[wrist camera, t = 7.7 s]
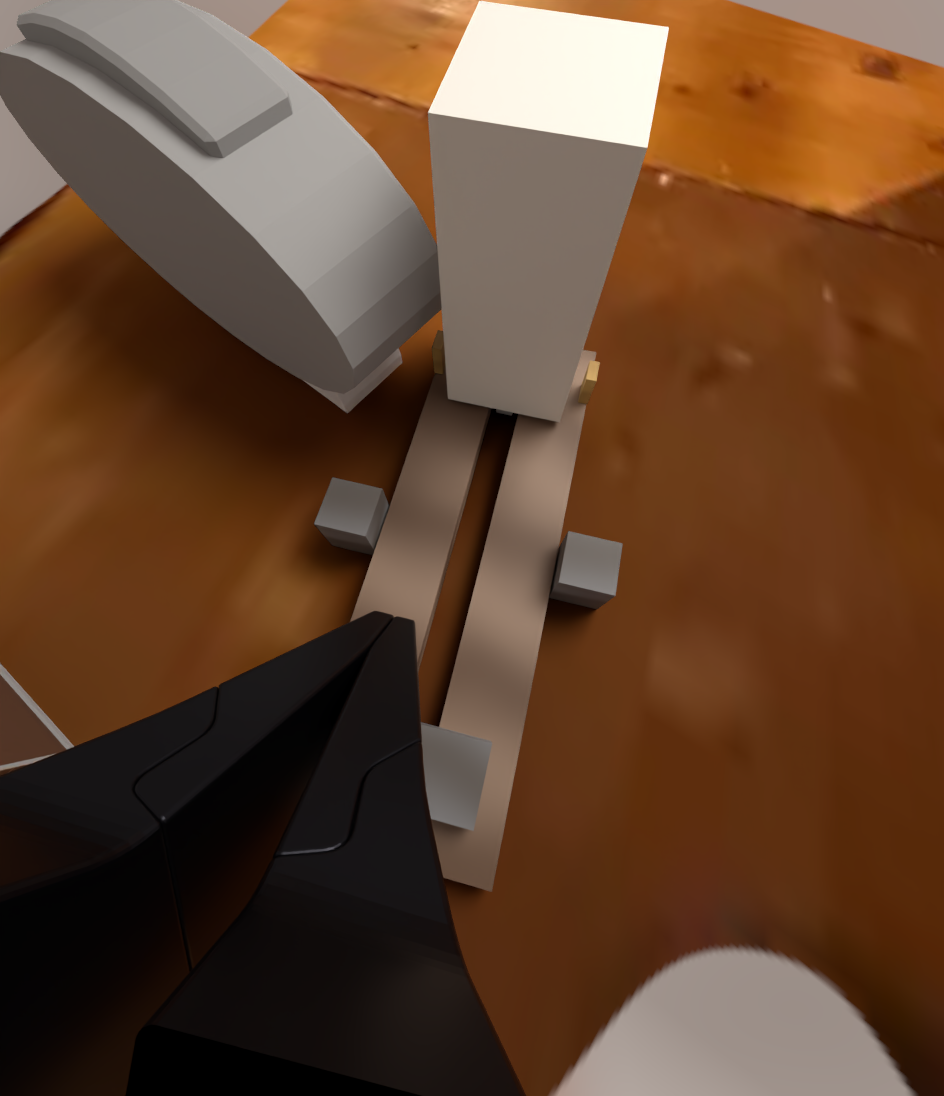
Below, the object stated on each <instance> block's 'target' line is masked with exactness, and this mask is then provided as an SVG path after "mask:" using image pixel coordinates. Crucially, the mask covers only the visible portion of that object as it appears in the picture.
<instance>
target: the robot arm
mask: <svg viewBox="0 0 944 1096" xmlns="http://www.w3.org/2000/svg"><path fill="white" fill-rule="evenodd" d="M0 1096H526V1094H525V1092H524V1090H523V1088H522V1086H521V1084H520V1082H519V1079H518V1077H517V1075H516V1073H515V1071H514V1069H513V1067H512V1065H511V1062H510V1060H509V1058H508V1056H507V1054H506V1052H505V1050H504V1048H503V1045H502V1043H501V1041H500V1039H499V1037H498V1035H497V1033H496V1031H495V1028H494V1026H493V1024H492V1022H491V1020H490V1018H489V1016H488V1014H487V1011H486V1009H485V1007H484V1005H483V1003H482V1001H481V999H480V997H479V994H478V992H477V990H476V988H475V986H474V984H473V982H472V979H471V977H470V975H469V973H468V970H467V967H466V964H465V961H464V958H463V955H462V952H461V949H460V945H459V942H458V938H457V934H456V931H455V927H454V923H453V919H452V914H451V910H450V906H449V901H448V896H447V892H446V887H445V882H444V878H443V873H442V868H441V864H440V859H439V854H438V850H437V845H436V841H435V836H434V831H433V827H432V822H431V816H430V810H429V804H428V798H427V793H426V784H425V774H424V764H423V746H422V733H421V715H420V698H419V680H418V663H417V645H416V628H415V621H414V620H411V619H407V618H403V617H399V616H396V617H394V616H393V615H391V614H388V613H384V612H380V611H372V612H370V613H368V614H366V615H364V616H362V617H360V618H358V619H355V620H353V621H351V622H349V623H347V624H345V625H343V626H341V627H339V628H337V629H335V630H332V631H330V632H328V633H326V634H324V635H322V636H320V637H318V638H316V639H314V640H312V641H309V642H307V643H305V644H303V645H301V646H299V647H297V648H295V649H293V650H291V651H288V652H286V653H284V654H282V655H280V656H278V657H276V658H274V659H272V660H270V661H268V662H265V663H263V664H261V665H259V666H257V667H255V668H253V669H251V670H249V671H247V672H244V673H242V674H240V675H238V676H236V677H234V678H232V679H230V680H228V681H226V682H224V683H221V684H220V685H219V688H218V687H213V688H211V689H209V690H206V691H204V692H202V693H200V694H198V695H196V696H194V697H192V698H189V699H187V700H185V701H183V702H181V703H178V704H176V705H174V706H172V707H170V708H167V709H165V710H163V711H161V712H159V713H156V714H154V715H151V716H149V717H147V718H144V719H142V720H139V721H137V722H134V723H132V724H130V725H127V726H125V727H122V728H120V729H117V730H115V731H113V732H110V733H107V734H105V735H102V736H100V737H97V738H95V739H92V740H90V741H87V742H85V743H82V744H79V745H77V746H74V747H72V748H69V749H67V750H64V751H62V752H59V753H57V754H54V755H52V756H49V757H46V758H44V759H41V760H39V761H36V762H34V763H31V764H29V765H26V766H24V767H21V768H18V769H16V770H13V771H11V772H8V773H6V774H3V775H0Z"/></svg>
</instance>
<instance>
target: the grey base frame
mask: <svg viewBox="0 0 944 1096" xmlns="http://www.w3.org/2000/svg"><path fill="white" fill-rule="evenodd" d="M432 355H433V365H434V373H435V375H434V378H433V381H432V384H431V387H430V390H429V393H428V395H427V398H426V401H425V404H424V407H423V410H422V413H421V416H420V419H419V422H418V425H417V428H416V431H415V433H414V436H413V439H412V442H411V445H410V448H409V451H408V454H407V457H406V460H405V463H404V466H403V469H402V472H401V474H400V477H399V480H398V483H397V486H396V489H395V492H394V495H393V498H392V501H391V504H390V506H389V504H388V501H387V499H386V496H385V494H384V492H383V489H382V488H377V487H373V486H369V485H364V484H360V483H355V482H351V481H347V480H342V479H338V478H334V477H332V480H331V482H330V485H329V487H328V490H327V492H326V495H325V497H324V500H323V502H322V505H321V507H320V510H319V512H318V515H317V517H316V520H315V523H314V525H315V526H316V527H317V528H318V529H319V531H320V532H321V533H322V534H323V535H324V536H325V538H326V539H327V540H328V541H329V542H330V543H331V545H332V546H336V547H341V548H345V549H349V550H353V551H357V552H361V553H365V554H370V555H373V556H372V559H371V562H370V565H369V568H368V571H367V574H366V577H365V580H364V583H363V586H362V589H361V592H360V595H359V597H358V600H357V603H356V606H355V609H354V612H353V615H352V618H351V621H353V620H355V619H358V618H360V617H362V616H364V615H366V614H368V613H370V612H372V611H380V612H384V613H388V614H391V615H393V616H394V617H396V616H399V617H403V618H407V619H411V620H414V621H415V628H416V645H417V663H418V671H419V667H420V664H421V660H422V657H423V653H424V649H425V646H426V642H427V639H428V635H429V632H430V628H431V624H432V621H433V617H434V614H435V610H436V606H437V603H438V599H439V596H440V592H441V589H442V585H443V581H444V578H445V574H446V571H447V567H448V563H449V560H450V556H451V553H452V549H453V546H454V542H455V538H456V535H457V531H458V528H459V524H460V520H461V517H462V513H463V510H464V506H465V503H466V499H467V495H468V492H469V488H470V485H471V481H472V477H473V474H474V470H475V467H476V463H477V459H478V456H479V452H480V449H481V445H482V442H483V438H484V434H485V431H486V427H487V424H488V420H489V416H490V413H491V409H492V408H489V407H484V406H479V405H475V404H470V403H465V402H460V401H456V400H451V399H448V393H447V378H446V364H445V350H444V335H443V331H439V330H438V331H437V334H436V337H435V340H434V343H433V346H432ZM595 356H596V352H592V351H586V350H583V351H582V354H581V357H580V360H579V363H578V366H577V369H576V373H575V376H574V379H573V382H572V385H571V388H570V391H569V394H568V398H567V401H566V404H565V407H564V410H563V413H562V416H561V420H560V422H555V421H551V420H546V419H541V418H536V417H532V416H527V415H522V414H518V417H517V421H516V425H515V429H514V433H513V437H512V441H511V445H510V449H509V453H508V457H507V461H506V465H505V469H504V473H503V477H502V480H501V484H500V488H499V492H498V496H497V500H496V504H495V508H494V512H493V516H492V520H491V524H490V528H489V532H488V536H487V540H486V544H485V548H484V552H483V555H482V559H481V563H480V567H479V571H478V575H477V579H476V583H475V587H474V591H473V595H472V599H471V603H470V607H469V611H468V615H467V619H466V623H465V626H464V630H463V634H462V638H461V642H460V646H459V650H458V654H457V658H456V662H455V666H454V670H453V674H452V678H451V682H450V686H449V690H448V694H447V698H446V701H445V705H444V709H443V713H442V717H441V721H440V725H439V727H437V726H433V725H430V724H426V723H422V722H421V733H422V746H423V764H424V774H425V784H426V793H427V798H428V804H429V810H430V816H431V822H432V827H433V831H434V836H435V841H436V845H437V850H438V854H439V859H440V864H441V868H442V873H443V878H446V879H450V880H453V881H457V882H460V883H463V884H467V885H470V886H474V887H477V888H480V889H484V890H487V891H491V892H492V888H493V883H494V878H495V872H496V867H497V862H498V857H499V852H500V847H501V841H502V836H503V831H504V826H505V821H506V816H507V810H508V805H509V800H510V795H511V790H512V785H513V779H514V774H515V769H516V764H517V759H518V754H519V748H520V743H521V738H522V733H523V728H524V723H525V717H526V712H527V707H528V702H529V697H530V692H531V687H532V681H533V676H534V671H535V666H536V661H537V656H538V650H539V645H540V640H541V635H542V630H543V625H544V619H545V614H546V609H547V604H548V599H549V598H552V599H556V600H560V601H564V602H569V603H573V604H577V605H581V606H585V607H589V608H593V609H598V608H599V607H601V606H602V605H603V604H605V603H606V602H607V601H609V600H610V599H611V598H613V597H614V596H615V593H616V586H617V579H618V572H619V565H620V558H621V551H622V543H618V542H613V541H609V540H604V539H600V538H596V537H591V536H587V535H583V534H578V533H574V532H569V531H568V533H567V535H566V536H565V538H564V540H563V542H562V543H561V545H560V547H559V542H560V537H561V532H562V526H563V521H564V516H565V511H566V506H567V501H568V495H569V490H570V485H571V480H572V475H573V470H574V464H575V459H576V454H577V449H578V444H579V439H580V433H581V428H582V423H583V418H584V413H585V408H586V404H587V403H588V401H589V398H590V396H591V393H592V391H593V388H594V385H595V383H596V379H597V374H598V369H599V364H600V362H596V361H595ZM558 547H559V549H558ZM351 621H350V622H351Z"/></svg>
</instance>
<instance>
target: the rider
mask: <svg viewBox="0 0 944 1096" xmlns="http://www.w3.org/2000/svg"><path fill="white" fill-rule="evenodd" d="M668 30H669V27H663V26H656V25H649V24H642V23H635V22H627V21H620V20H613V19H606V18H599V17H592V16H584V15H577V14H570V13H563V12H556V11H549V10H541V9H534V8H527V7H520V6H513V5H506V4H498V3H491V2H484V1H479V3H478V5H477V7H476V10H475V12H474V14H473V16H472V18H471V20H470V23H469V25H468V27H467V29H466V31H465V33H464V36H463V38H462V40H461V42H460V44H459V46H458V49H457V51H456V53H455V55H454V57H453V59H452V62H451V64H450V66H449V68H448V70H447V72H446V75H445V77H444V79H443V81H442V83H441V85H440V88H439V90H438V92H437V94H436V96H435V99H434V101H433V103H432V105H431V107H430V109H429V112H428V120H429V134H430V149H431V163H432V177H433V192H434V206H435V220H436V235H437V249H438V263H439V278H440V292H441V307H442V321H443V335H444V350H445V364H446V378H447V393H448V399H451V400H456V401H460V402H465V403H470V404H475V405H479V406H484V407H489V408H494V409H496V412H497V413H502V414H506V415H511V416H512V414H513V413H517V414H522V415H527V416H532V417H536V418H541V419H546V420H551V421H555V422H560V420H561V416H562V413H563V410H564V407H565V404H566V401H567V398H568V394H569V391H570V388H571V385H572V382H573V379H574V376H575V373H576V369H577V366H578V363H579V360H580V357H581V354H582V351H583V347H584V344H585V341H586V338H587V335H588V332H589V329H590V326H591V322H592V319H593V316H594V313H595V310H596V307H597V304H598V301H599V297H600V294H601V291H602V288H603V285H604V282H605V279H606V275H607V272H608V269H609V266H610V263H611V260H612V257H613V254H614V250H615V247H616V244H617V241H618V238H619V235H620V232H621V229H622V225H623V222H624V219H625V216H626V213H627V210H628V207H629V203H630V200H631V197H632V194H633V191H634V188H635V185H636V182H637V178H638V175H639V172H640V169H641V166H642V163H643V160H644V156H645V153H646V150H647V147H648V141H649V135H650V130H651V124H652V119H653V113H654V108H655V102H656V97H657V91H658V85H659V80H660V74H661V69H662V63H663V58H664V52H665V47H666V41H667V35H668Z"/></svg>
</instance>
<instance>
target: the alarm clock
mask: <svg viewBox="0 0 944 1096" xmlns="http://www.w3.org/2000/svg"><path fill="white" fill-rule="evenodd" d="M17 26H18V28H19V29H20V30H21V32H22V34H23V35H24V36H25V38H26V39H25V40H23V41H21V42H19V43H17V44H15V45H12V46H10V47H8V48H6V49H4V50H2V51H0V95H1V97H2V99H3V101H4V103H5V105H6V106H7V108H8V110H9V111H10V112H11V114H12V115H13V117H14V118H15V119H16V121H17V122H18V123H19V125H20V126H21V128H22V129H23V131H24V132H25V133H26V135H27V136H28V138H29V139H30V140H31V141H32V143H33V144H34V145H35V146H36V147H37V149H38V150H39V151H40V152H41V154H42V155H43V156H44V157H45V158H46V160H47V161H48V162H49V163H50V164H51V166H52V167H53V168H54V169H55V170H56V172H57V173H58V174H59V175H60V176H61V177H62V178H63V179H64V181H65V182H66V183H67V184H68V185H69V186H70V187H71V188H72V189H73V190H74V191H75V192H76V194H77V195H78V196H79V197H80V198H81V199H82V200H83V201H84V202H85V203H86V204H87V205H88V207H89V208H90V209H91V210H92V211H93V212H94V213H95V214H96V215H97V216H98V217H99V218H100V219H101V220H102V221H103V222H104V223H105V224H106V225H107V226H108V227H109V228H110V229H111V230H112V231H113V232H114V233H115V234H116V235H117V236H118V237H119V238H120V239H121V240H122V241H123V242H124V243H126V244H127V245H128V246H129V247H130V248H131V249H132V250H133V251H134V252H135V253H136V254H137V255H139V256H140V257H141V258H142V259H143V260H144V261H145V262H146V263H147V264H148V265H149V266H150V267H152V268H153V269H154V270H155V271H156V272H157V273H158V274H159V275H160V276H161V277H163V278H164V279H165V280H166V281H167V282H168V283H170V284H171V285H172V286H173V287H174V288H175V289H177V290H178V291H179V292H180V293H181V294H182V295H184V296H185V297H186V298H187V299H188V300H189V301H191V302H192V303H193V304H194V305H195V306H196V307H198V308H199V309H200V310H202V311H203V312H204V313H205V314H207V315H208V316H209V317H210V318H212V319H213V320H214V321H216V322H217V323H218V324H219V325H221V326H222V327H223V328H225V329H226V330H227V331H228V332H230V333H231V334H232V335H234V336H235V337H236V338H238V339H239V340H241V341H242V342H243V343H245V344H246V345H248V346H249V347H251V348H252V349H253V350H255V351H256V352H258V353H259V354H260V355H262V356H263V357H265V358H266V359H268V360H269V361H271V362H273V363H274V364H276V365H278V366H279V367H281V368H283V369H284V370H286V371H287V372H289V373H291V374H292V375H294V376H296V377H297V378H300V379H302V380H303V381H304V382H306V383H307V384H309V385H310V386H311V387H313V388H314V389H315V390H317V391H318V392H319V393H321V394H322V395H323V396H325V397H326V398H327V399H329V400H330V401H331V402H333V403H334V404H335V405H337V406H338V407H339V408H341V409H342V410H344V411H345V412H346V413H349V412H350V411H351V410H352V409H353V408H354V407H355V406H356V405H357V404H358V403H359V402H360V401H362V400H363V399H364V398H365V397H366V396H367V395H368V394H369V393H370V392H371V391H372V390H373V389H375V388H376V387H377V386H378V385H379V384H380V383H381V382H382V381H383V380H384V379H385V378H386V377H388V376H389V375H390V374H391V373H392V372H393V371H394V370H395V369H396V368H397V367H398V366H400V365H401V364H402V363H403V362H402V357H401V353H400V351H399V347H400V346H401V345H402V344H403V343H405V342H406V341H407V340H408V339H409V338H410V337H411V336H412V335H413V334H414V333H416V332H417V331H418V330H419V329H420V328H421V327H422V326H423V325H424V324H426V323H427V322H428V321H429V320H430V319H431V318H432V317H433V316H434V315H435V314H437V313H438V312H439V311H440V310H441V308H442V307H441V292H440V278H439V263H438V249H437V244H436V243H435V241H434V239H433V237H432V235H431V233H430V231H429V229H428V228H427V226H426V224H425V222H424V220H423V218H422V216H421V214H420V213H419V211H418V209H417V207H416V205H415V203H414V202H413V201H412V199H411V198H410V197H409V195H408V194H407V193H406V191H405V190H404V189H403V187H402V186H401V185H400V183H399V182H398V181H397V179H396V178H395V177H394V175H393V174H392V173H391V171H390V170H389V169H388V167H387V166H386V165H385V163H384V162H383V161H382V159H381V158H380V157H379V155H378V154H377V153H376V151H375V150H374V149H373V148H372V147H371V146H370V145H369V144H368V143H367V142H366V141H365V140H364V139H363V138H362V137H361V136H360V134H359V133H358V132H357V131H356V130H355V129H354V128H353V127H352V126H351V125H350V124H349V123H348V122H347V121H346V120H345V119H344V118H343V117H342V116H341V115H340V114H339V113H338V111H337V110H336V109H335V108H334V107H333V106H332V105H331V104H330V103H329V102H328V101H327V100H326V99H325V98H324V97H323V96H322V95H321V94H319V93H318V92H317V91H316V90H315V89H313V88H312V87H311V86H310V85H309V84H307V83H306V82H305V81H304V80H303V79H301V78H300V77H299V76H298V75H297V74H295V73H294V72H293V71H292V70H291V69H289V68H288V67H287V66H286V65H285V64H283V63H282V62H281V61H280V60H279V59H277V58H276V57H275V56H274V55H273V54H271V53H270V52H269V51H268V50H267V49H265V48H264V47H262V46H260V45H259V44H257V43H256V42H254V41H253V40H251V39H249V38H248V37H246V36H245V35H243V34H241V33H240V32H238V31H236V30H235V29H234V28H232V27H230V26H229V25H227V24H226V23H224V22H223V21H221V20H219V19H218V18H216V17H215V16H213V15H212V14H209V13H207V12H204V11H202V10H200V9H197V8H195V7H192V6H190V5H187V4H185V3H183V2H180V1H178V0H51V1H49V2H47V3H45V4H43V5H40V6H38V7H36V8H34V9H32V10H29V11H27V12H25V13H23V14H21V15H19V16H18V21H17Z"/></svg>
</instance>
